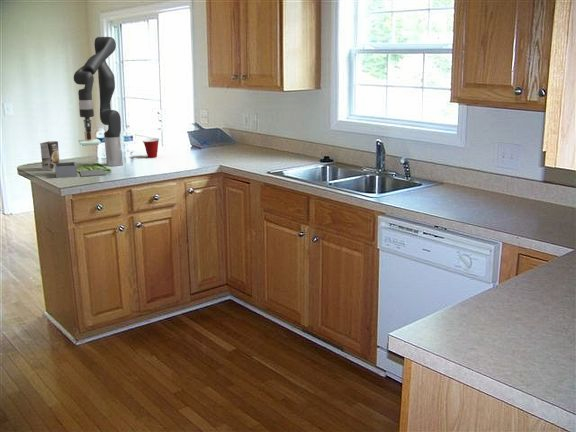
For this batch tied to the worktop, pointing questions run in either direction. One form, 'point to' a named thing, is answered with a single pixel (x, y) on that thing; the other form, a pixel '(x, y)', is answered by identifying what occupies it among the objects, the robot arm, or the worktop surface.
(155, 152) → the plastic cup
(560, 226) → the worktop surface
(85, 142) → the lid
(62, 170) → the tub
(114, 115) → the robot arm
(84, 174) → the mat
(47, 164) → the coffee box
